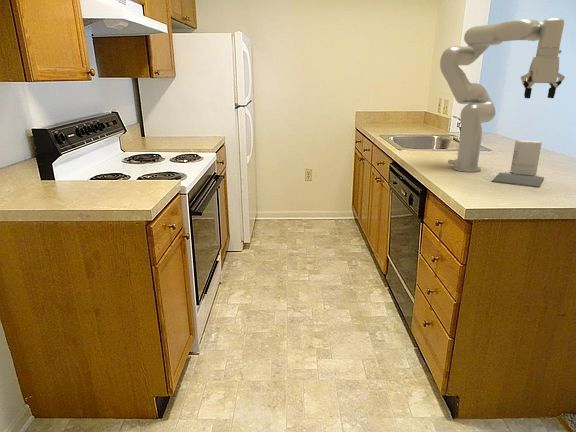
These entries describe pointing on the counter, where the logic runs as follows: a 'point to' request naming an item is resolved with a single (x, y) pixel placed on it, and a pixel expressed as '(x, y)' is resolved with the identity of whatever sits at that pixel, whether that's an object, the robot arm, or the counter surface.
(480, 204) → the counter surface
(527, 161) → the supplement box
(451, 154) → the counter surface
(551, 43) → the robot arm
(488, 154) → the counter surface
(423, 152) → the counter surface
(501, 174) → the mat
